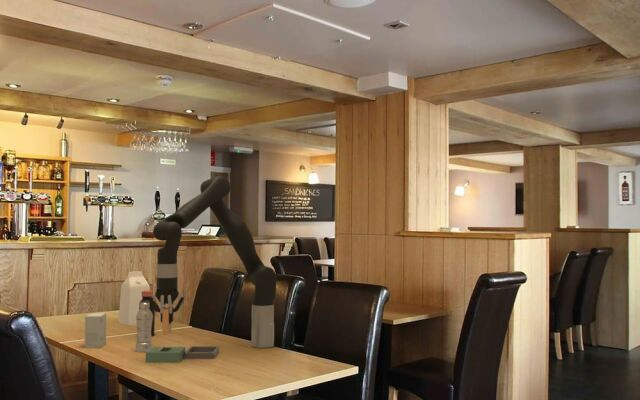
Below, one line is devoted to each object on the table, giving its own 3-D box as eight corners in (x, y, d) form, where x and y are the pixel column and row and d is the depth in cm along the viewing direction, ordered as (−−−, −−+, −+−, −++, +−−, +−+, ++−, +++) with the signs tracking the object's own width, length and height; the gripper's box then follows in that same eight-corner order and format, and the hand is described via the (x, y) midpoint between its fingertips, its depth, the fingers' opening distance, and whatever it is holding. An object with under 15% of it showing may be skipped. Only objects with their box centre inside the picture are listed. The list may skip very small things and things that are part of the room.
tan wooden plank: (171, 331, 225) (171, 307, 225) (167, 334, 219) (168, 309, 220) (165, 331, 225) (166, 307, 225) (162, 334, 219) (162, 309, 219)
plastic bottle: (137, 356, 232) (137, 304, 233) (133, 353, 238) (134, 302, 239) (154, 355, 235) (155, 303, 236) (150, 351, 241) (151, 301, 242)
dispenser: (185, 360, 227) (185, 345, 227) (179, 366, 217) (179, 351, 217) (152, 360, 227) (153, 345, 227) (145, 366, 217) (145, 351, 217)
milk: (140, 320, 316) (141, 270, 317) (150, 323, 308) (151, 271, 309) (118, 322, 308) (119, 271, 309) (128, 325, 300) (129, 272, 300)
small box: (90, 344, 255) (91, 313, 255) (106, 344, 255) (106, 313, 255) (84, 348, 247) (84, 316, 247) (99, 348, 247) (100, 316, 247)
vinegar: (156, 334, 277) (157, 290, 278) (150, 337, 270) (151, 292, 271) (142, 334, 278) (142, 290, 279) (136, 336, 271) (137, 291, 272)
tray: (219, 355, 235) (219, 346, 235) (214, 362, 223) (214, 353, 223) (190, 355, 235) (190, 346, 235) (184, 362, 223) (184, 353, 223)
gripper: (187, 275, 227) (187, 321, 226) (151, 275, 226) (150, 321, 226) (183, 277, 219) (183, 325, 218) (145, 277, 219) (145, 325, 218)
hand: (166, 323), depth 222 cm, fingers closed on tan wooden plank, 1 cm apart
